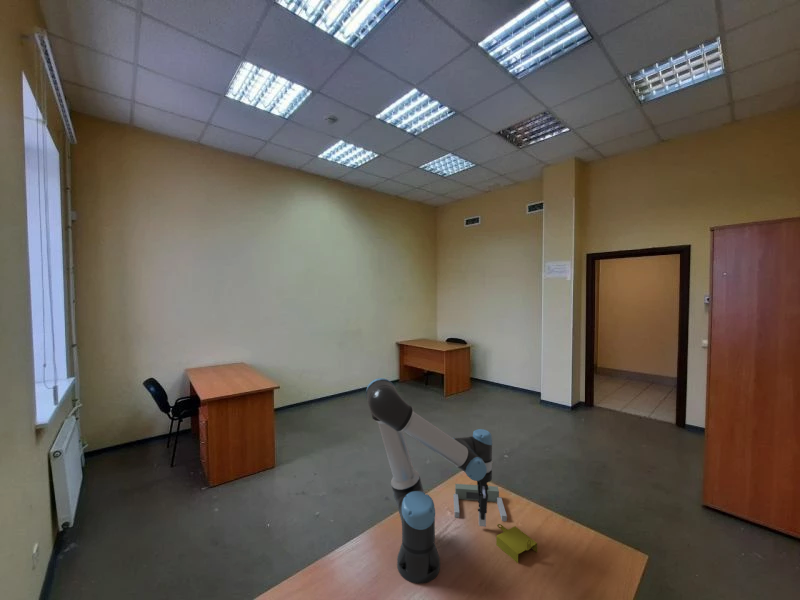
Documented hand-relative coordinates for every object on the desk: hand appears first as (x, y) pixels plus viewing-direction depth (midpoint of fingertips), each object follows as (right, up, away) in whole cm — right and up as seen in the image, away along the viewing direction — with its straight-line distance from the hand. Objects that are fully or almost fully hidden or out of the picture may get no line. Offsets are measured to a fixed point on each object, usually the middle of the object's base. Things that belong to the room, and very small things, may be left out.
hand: (482, 524), depth 136 cm
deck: (+2, -2, +14) cm, 14 cm away
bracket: (+6, +2, -3) cm, 7 cm away
